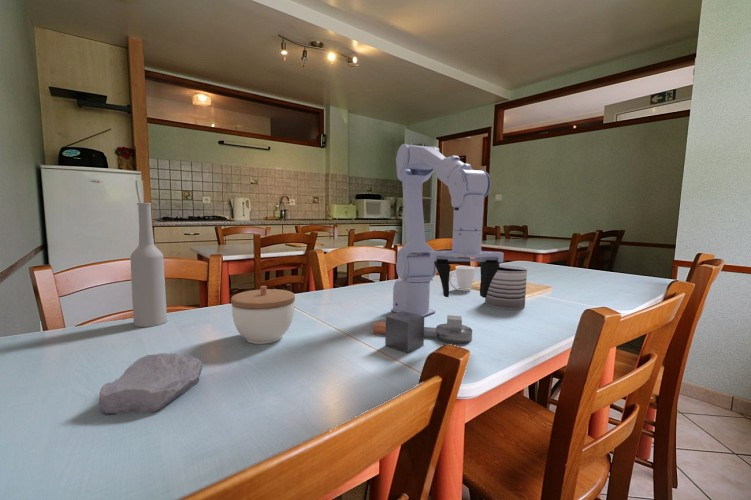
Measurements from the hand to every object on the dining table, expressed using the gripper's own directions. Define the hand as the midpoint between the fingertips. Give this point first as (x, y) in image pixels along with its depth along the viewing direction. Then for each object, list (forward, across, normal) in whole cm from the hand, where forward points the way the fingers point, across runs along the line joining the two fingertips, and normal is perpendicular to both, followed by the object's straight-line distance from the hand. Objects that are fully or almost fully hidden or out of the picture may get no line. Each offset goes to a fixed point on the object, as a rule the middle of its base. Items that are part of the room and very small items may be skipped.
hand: (464, 296), depth 72 cm
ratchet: (+10, -8, +4) cm, 13 cm away
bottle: (+10, -71, +10) cm, 72 cm away
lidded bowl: (+10, -42, +1) cm, 43 cm away
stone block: (+10, -50, -22) cm, 55 cm away
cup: (+10, +12, +51) cm, 53 cm away
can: (+10, +20, +31) cm, 39 cm away
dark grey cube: (+10, -12, -2) cm, 16 cm away
